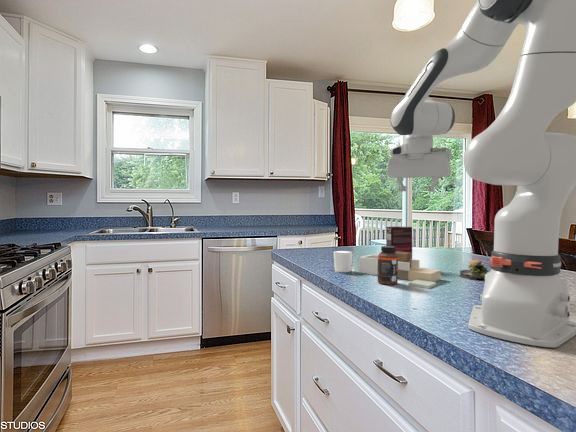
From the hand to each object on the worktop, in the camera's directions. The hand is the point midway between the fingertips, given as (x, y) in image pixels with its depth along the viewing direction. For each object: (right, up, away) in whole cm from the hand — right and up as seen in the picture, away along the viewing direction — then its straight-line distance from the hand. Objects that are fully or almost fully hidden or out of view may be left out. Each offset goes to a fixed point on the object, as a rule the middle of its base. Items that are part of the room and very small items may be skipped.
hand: (416, 191), depth 116 cm
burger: (+22, -29, +2) cm, 36 cm away
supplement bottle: (-12, -29, -9) cm, 32 cm away
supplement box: (0, -28, +18) cm, 33 cm away
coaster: (-2, -29, -11) cm, 31 cm away
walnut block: (-5, -25, +2) cm, 26 cm away
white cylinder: (-23, -28, +11) cm, 38 cm away
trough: (-5, -28, +3) cm, 29 cm away
